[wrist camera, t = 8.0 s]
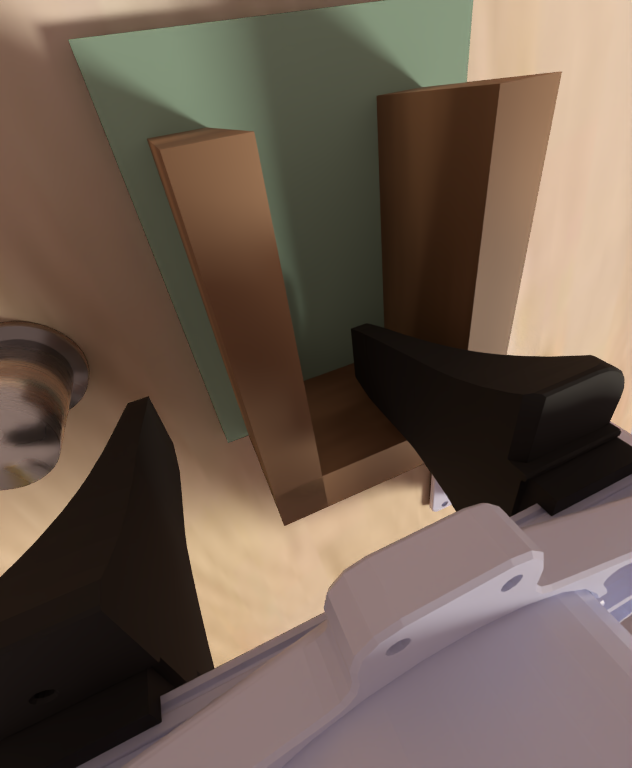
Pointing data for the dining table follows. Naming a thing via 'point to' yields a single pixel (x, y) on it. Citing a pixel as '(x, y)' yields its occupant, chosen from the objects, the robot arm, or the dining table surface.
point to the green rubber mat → (278, 148)
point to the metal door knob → (35, 398)
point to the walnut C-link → (399, 268)
